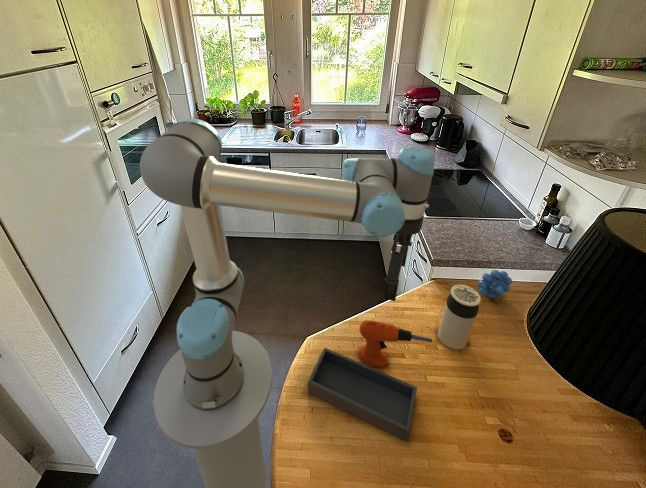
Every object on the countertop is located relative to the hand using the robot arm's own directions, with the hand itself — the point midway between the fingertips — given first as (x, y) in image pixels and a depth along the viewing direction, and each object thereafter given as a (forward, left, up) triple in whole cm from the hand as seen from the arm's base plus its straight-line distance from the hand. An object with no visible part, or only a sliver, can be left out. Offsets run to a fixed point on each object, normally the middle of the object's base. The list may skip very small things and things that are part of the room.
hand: (395, 280), depth 85 cm
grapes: (+29, +31, -23) cm, 48 cm away
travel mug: (+18, +9, -23) cm, 30 cm away
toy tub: (-2, -19, -23) cm, 30 cm away
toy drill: (+3, -7, -23) cm, 25 cm away
